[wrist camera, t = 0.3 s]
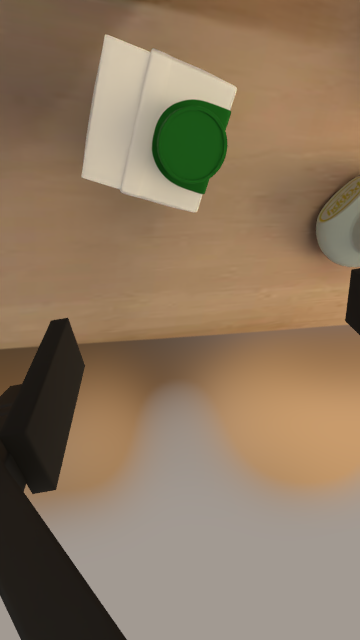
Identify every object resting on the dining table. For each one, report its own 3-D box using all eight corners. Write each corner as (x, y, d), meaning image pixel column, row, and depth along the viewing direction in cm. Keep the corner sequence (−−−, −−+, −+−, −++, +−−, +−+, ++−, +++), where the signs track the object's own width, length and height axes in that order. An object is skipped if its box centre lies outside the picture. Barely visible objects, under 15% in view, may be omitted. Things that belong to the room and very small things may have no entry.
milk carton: (177, 185, 39) (206, 232, 22) (98, 159, 37) (60, 189, 20) (203, 98, 35) (261, 72, 18) (116, 64, 33) (87, -1, 16)
